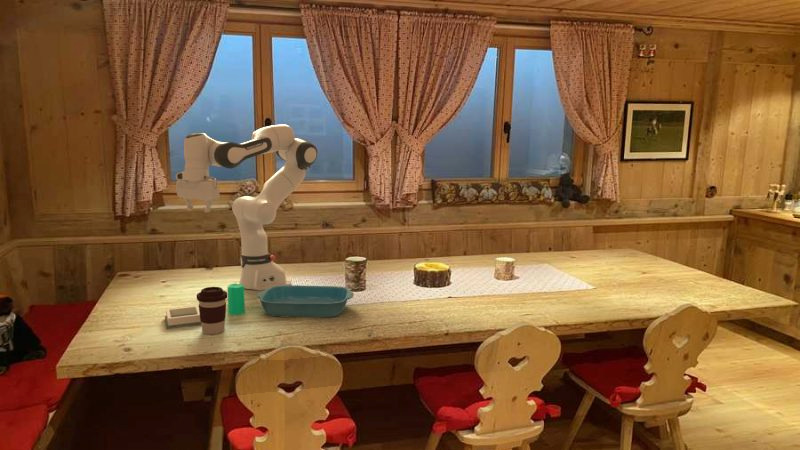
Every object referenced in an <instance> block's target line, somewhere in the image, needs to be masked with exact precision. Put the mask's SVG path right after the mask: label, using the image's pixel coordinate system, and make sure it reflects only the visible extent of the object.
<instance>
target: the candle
mask: <svg viewBox="0 0 800 450" xmlns="http://www.w3.org/2000/svg"><path fill="white" fill-rule="evenodd" d="M245 308H246V307H245V288H244V285H243V284H239V283H232V284H229V285H227V313H228V314H229V315H232V316H238V315H243V314H245V312H246V311H245V310H246V309H245Z"/></svg>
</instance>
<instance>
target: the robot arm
mask: <svg viewBox="0 0 800 450" xmlns="http://www.w3.org/2000/svg"><path fill="white" fill-rule="evenodd" d="M273 153H275V155H276V156H277V157H278V158H279V159H281V160H282V161H283V160H284V161H285V163H284V165H283V166H282V167H281V168H280V169H279V170H278V171H277V172H275V173H274V174H273V175H272V176H271V177H270V178H269V179H268V180H267V181H266V182H264V184H263V186H262V190H261V192H260V193H259V194H258V195H257V196H249V195H246V196H240V197H237V198H236V199H235V200H234V201H233V202H232V206H231V210H232V213H233V215H234V216H235V219H236V221H237V225H238V229H239V233H240V244H241V254H240V267H241V270H240V271H241V273H240V277H239V278H240V279H239V282H238V284H243V285H244V290H246V289H247V290H253V291H263V290H267V289H269V288H271V287H274V286H282V285H290V284H291V285H292V282H291V279H290V278H289V277H287V276H286V272H285V270H284V268H283V267H281V266H280V265H279V264H277V263H275V262H274V260H276V256H275V255H273V254H271V253H270V252H269V251H268V247H269V246H268V235H267V233H266V231H265V229H264V227H263V226H264V225H270V224H271V223H273V222H274V221H275V219H276V216H277V211H278V209H279V207H280V205H281V204H282V203H283V201H285V200H286V199H287V198H288V197H290V195H291V194H292V193H294V191H295V190H296V189H297V188H298V187H299V186H301V185H300V184H302V182H303V181H304V179H305V178H306V176H307V175H306V174H307V172H306V170H308V169H310V168H311V166H312V165H313V164H314V163H315V162H316V160H317V157H318V149H317V147H316V146H315V144H313V143H311V142H309V141H306V140H303V139H302V138H295V132H294V130H293V129H292V127H291V126H289V125H287V124H275V125H269V126H265V127H262V128H259V129H256V130H255V131H253V133H252V135H251V140H249V141H245V142H242V143H237V142H233V141H228V142H222V141H218V140H215V139H213V138H211V137H209V136H208V135H207V134H206V133H204V132H195V133H190V134H188V135H186V136H185V138H184V143H183V157H184V161H185V163H184V170H183V171H180V172H178V173H176V174H175V179H176V182H175V183H176V184H175V189H176V195H177V197H178V198H182V199H183V200H184V202H185V204H186V210H188V211H192V210H194V205H193V204H192V202H191V201H192V200H197V201H198V200H199V201H205V204H206V205H205V207H203V212H205V213H210V212H211V207H212V205H213V202H218V201H219V200H220V198H221V197H220V196H221V195H220V189H219V183H218V180H217V179H216V178H215V177H214V176H210V168H209V166H210V165H211V166H214V167H215V166H216V167H220V168H224V169H225V168H226V169H230V170H231V169H235V168H237V167H239V166H240V165H241V164H243V162H244V161H246V160H248V159H250V158H254V157H256V156H259V155H265V154H273Z"/></svg>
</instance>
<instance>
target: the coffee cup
mask: <svg viewBox="0 0 800 450" xmlns="http://www.w3.org/2000/svg"><path fill="white" fill-rule="evenodd" d="M226 299H228V291H226V290H224V289H223V288H222V287H220V286H208V287H204V288H202V289H201V290H200V292H198V293H197V294H196V300H197V301H198V307H199V313H200V321H201V324H200V325H201V331H202V334H204V335H219V334H221V333H223V332H224V331H225V324H226V323H225V322H226V316H227V300H226Z"/></svg>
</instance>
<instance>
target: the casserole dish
mask: <svg viewBox="0 0 800 450" xmlns="http://www.w3.org/2000/svg"><path fill="white" fill-rule="evenodd" d="M256 297H257V298H258V299H259V300H260V302H261V306H262V308H263V310H264V312H265V313H266V314H268V316H269V315H270V316H272V317H280V316H289V317H288V318H334V317H333V316H335V317H338V316H339V315H340V314H341V313H343V311H344V309H345V308H346V305H347V302H348V300H351V299H353V297H354V292H353V291H352V290H350V289H349V288H348V287H344V286H338V285H337V286H336V285H333V286H332V285H298V284H297V285H296V284H295V285H294V284H293V285H292V284H291V285H282V286H274V287H271V288H269V289H265V290H260V292H258V293H257V295H256ZM337 315H338V316H337Z"/></svg>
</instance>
